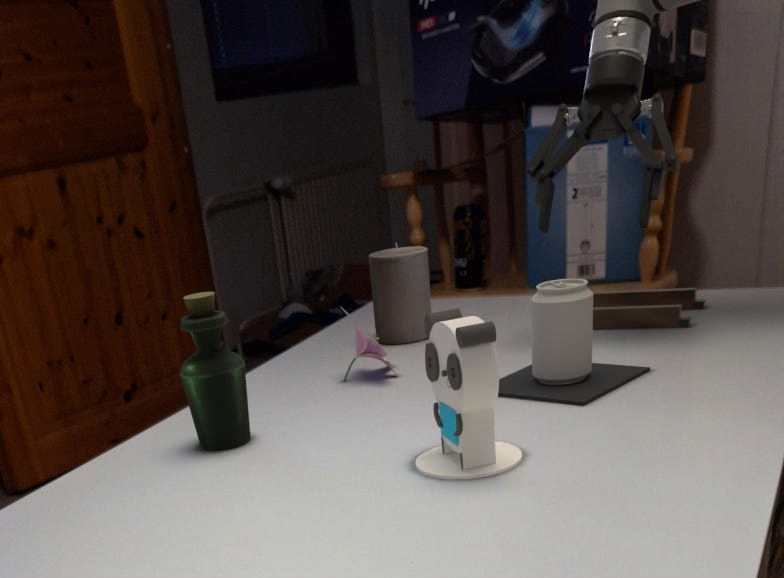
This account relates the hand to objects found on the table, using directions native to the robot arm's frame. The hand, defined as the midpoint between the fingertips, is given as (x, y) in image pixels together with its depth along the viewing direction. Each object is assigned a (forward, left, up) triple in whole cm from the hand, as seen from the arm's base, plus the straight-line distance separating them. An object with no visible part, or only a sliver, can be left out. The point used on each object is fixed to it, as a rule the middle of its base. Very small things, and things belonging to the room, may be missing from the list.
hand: (591, 227), depth 128 cm
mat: (-12, +15, -16) cm, 25 cm away
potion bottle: (0, +58, -16) cm, 60 cm away
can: (-12, +15, -16) cm, 25 cm away
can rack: (+9, -14, -16) cm, 23 cm away
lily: (+13, +30, -16) cm, 36 cm away
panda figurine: (-28, +40, -16) cm, 51 cm away
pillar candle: (+31, +14, -16) cm, 37 cm away
